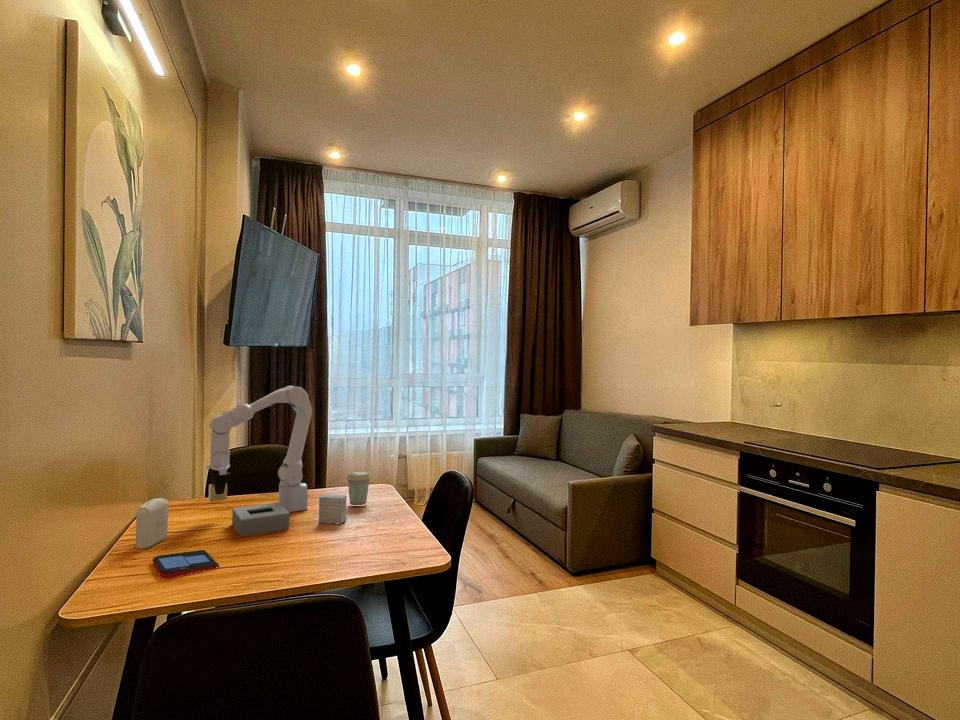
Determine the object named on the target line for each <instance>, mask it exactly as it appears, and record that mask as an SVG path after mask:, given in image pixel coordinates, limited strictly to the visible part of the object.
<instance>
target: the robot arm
mask: <svg viewBox="0 0 960 720" xmlns="http://www.w3.org/2000/svg"><path fill="white" fill-rule="evenodd" d="M309 395H310V394H309V393H308V392H307V391H306V390H305V389H304V388H303V387H301V386H294V385H287V386H285V387H282V388H279V389H277V390H275V391H273V392H271V393H269V394H267V395H265V396H263V397H262V398H259V399H258V400H256V401H254V402H251V403H250V404H248V403H238V404H236V407H234V408H232V409H229V410H228V411H226V410H224V411H223V412H222V414H217V415H215V416H213V417H212V418H211V420H210V422H209V424H208V426H209V428H210V429H211V434H210V436H211V437H210V446H209V447H210V452H209V465H205V469H210V470H208V473H209V476H210V477H211V481H212V484H214V485H215V492H216V495H217V494H223V493H224V490H225V486H226V483H227V481H228V480H229V477H230V476H231V472H230V471H229V468H230V467H231V464H230V454H231V453H230V451H231V450H230V449H231V447H230V445H231V437H230V436H231V435H230V433H231V432H230V431H231V430H232V429H233V428H235V427H237V426H240V425H241V424H243V423H245V422H247V421H249V420H251V419H253V417H254V415H255V413H257V412H259V411H261V410H263V409H266V408H268V407H271V406H272V405H274V404H276V403H277V404H279V403H281V404H288V405H289V406H291V408H292V409H293V410H294V412H295V418H294V422H293V427H292V428H293V429H292V430H291V431H292V432H291V436H290V440H289V445H288V448H287V452H286V456H285V457H284V459H283V460H282V464H281V465H280V467H279V468H278V469H277V477H278V478H279V480H280V482H279V483H278V503H279V504H280V505H281V506H283V507H284V508H285V509H286V510H287V511H288V512H289V513H293V512H294V513H295V512H300V511H306V510H308V500H309V499H308V497H309V495H308V494H309V493H308V491H309V490H308V484H306V483H305V482H302V480H303V476H304V475H303V461H302V457H303V452H304V449H305V444H306V440H307V436H308V432H309V428H310V422H311V419H312V414H313V407H312V405H311V401H310V399H309Z"/></svg>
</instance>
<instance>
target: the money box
mask: <svg viewBox="0 0 960 720" xmlns="http://www.w3.org/2000/svg"><path fill="white" fill-rule="evenodd" d="M231 512H232V514H231V515H232V516H231V525H232V527H233V528H234V529H235V531H236V532H237V534H238V536H239V537H240V538H244V537H251V536H255V535H261V534H263V535H264V534H268V533H275V532H274V531H276V532H280V530H282V531H286V530H285V529H288V530H290V515H291V514H290V513H291V512H288V511H287V510H286V509H285V508H284V507H283V506H281V505H280V504H279V502H271V503H270V502H269V503H265V504H256V505H249V506H241V507H235V508H232V511H231Z"/></svg>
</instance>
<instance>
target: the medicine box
mask: <svg viewBox="0 0 960 720" xmlns="http://www.w3.org/2000/svg"><path fill="white" fill-rule="evenodd" d="M318 499H319V502H318V503H319V507H318V509H319V510H318V524H324V523H339V524H338V525H343V524H344V523H345V522H346V521H347V494H346V495H345V494H322V496H320V497H319V498H318ZM345 520H346V521H345ZM344 521H345V522H344ZM343 522H344V523H343ZM342 523H343V524H342Z"/></svg>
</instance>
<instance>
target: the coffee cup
mask: <svg viewBox="0 0 960 720" xmlns="http://www.w3.org/2000/svg"><path fill="white" fill-rule="evenodd" d="M370 479H371V475H370V472H369V471H365V470H353V471H350V472H348V475H347V477H346V480H347V486H348V496H349V497H348V498H349V499H348V500H349V505H350V504H351V505H363V504H365V503H366V504H367V500H368V493H369V485H370Z"/></svg>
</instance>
